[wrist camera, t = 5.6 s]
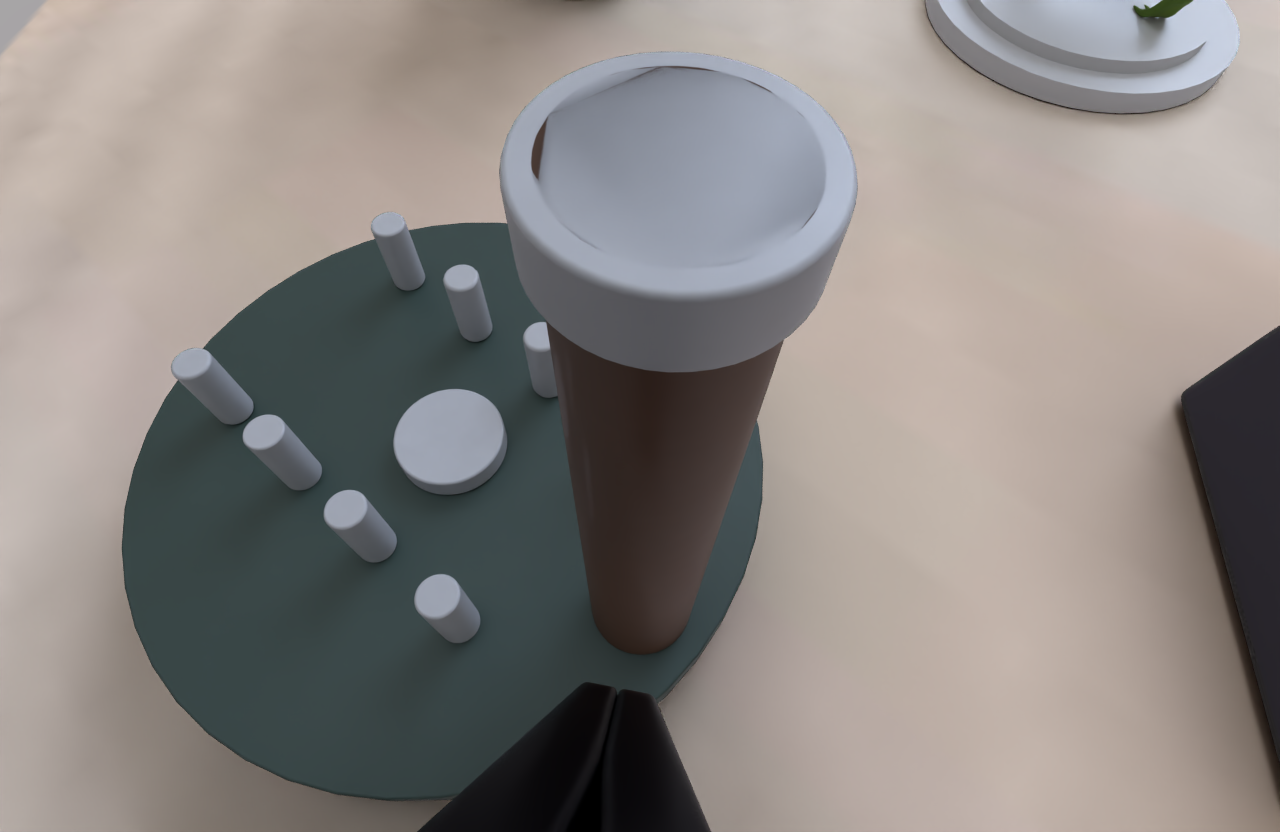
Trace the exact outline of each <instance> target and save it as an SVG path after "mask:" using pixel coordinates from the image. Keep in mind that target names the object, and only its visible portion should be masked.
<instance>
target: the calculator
mask: <svg viewBox="0 0 1280 832" xmlns="http://www.w3.org/2000/svg"><path fill="white" fill-rule="evenodd" d="M1181 401H1182V406H1183V410H1184V413H1185V417H1186V421H1187V424H1188V428H1189V432H1190V435H1191V439H1192V443H1193V446H1194V450H1195V454H1196V458H1197V461H1198V465H1199V469H1200V472H1201V476H1202V480H1203V483H1204V487H1205V491H1206V494H1207V498H1208V502H1209V505H1210V509H1211V513H1212V516H1213V520H1214V524H1215V527H1216V531H1217V535H1218V538H1219V542H1220V546H1221V549H1222V553H1223V557H1224V560H1225V564H1226V568H1227V572H1228V575H1229V579H1230V583H1231V586H1232V590H1233V594H1234V597H1235V601H1236V605H1237V608H1238V612H1239V616H1240V619H1241V623H1242V627H1243V630H1244V634H1245V638H1246V641H1247V645H1248V649H1249V652H1250V656H1251V660H1252V663H1253V667H1254V671H1255V674H1256V678H1257V682H1258V685H1259V689H1260V693H1261V697H1262V700H1263V704H1264V708H1265V711H1266V715H1267V719H1268V722H1269V726H1270V730H1271V733H1272V737H1273V741H1274V744H1275V748H1276V752H1277V755H1278V759H1279V763H1280V326H1278V327H1277V328H1275V329H1274V330H1272V331H1271V332H1269V333H1268V334H1266V335H1265V336H1263V337H1262V338H1260V339H1259V340H1257V341H1256V342H1255V343H1253V344H1252V345H1250V346H1249V347H1247V348H1246V349H1244V350H1243V351H1241V352H1240V353H1238V354H1237V355H1236V356H1234V357H1233V358H1231V359H1230V360H1228V361H1227V362H1225V363H1224V364H1222V365H1221V366H1220V367H1218V368H1217V369H1215V370H1214V371H1212V372H1211V373H1209V374H1208V375H1207V376H1205V377H1204V378H1202V379H1201V380H1199V381H1198V382H1196V383H1195V384H1194V385H1192V386H1191V387H1189V388H1188V389H1186V390H1185V391H1184V392H1183V394H1182V396H1181Z"/></svg>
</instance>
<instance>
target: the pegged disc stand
mask: <svg viewBox="0 0 1280 832" xmlns="http://www.w3.org/2000/svg"><path fill="white" fill-rule="evenodd" d="M499 176H500V188H501V193H502V198H503V203H504V208H505V213H506V219H507V224H506V223H459V224H449V225H438V226H430V227H425V228H419V229H414V230H408V227H407V225H406V222H405V220H404V218H403V217H402V216H401V215H399V214H397V213H394V212H387V213H383V214H380V215H378V216H377V217H376V218H374V220H373V221H372V224H371V230H372V233H373V235H374V237H375V239H374V240H370V241H367V242H364V243H361V244H359V245H356V246H353V247H351V248H348V249H346V250H343V251H341V252H338V253H335V254H333V255H331V256H329V257H327V258H325V259H323V260H321V261H319V262H317V263H315V264H313V265H311V266H309V267H307V268H305V269H303V270H301V271H299V272H297V273H295V274H294V275H292V276H291V277H289V278H287V279H286V280H284V281H283V282H281V283H279V284H278V285H276V286H275V287H273V288H271V289H270V290H268V291H267V292H266V293H264V294H263V295H262V296H260V297H259V298H258V299H256V300H255V301H254V302H253V303H251V304H250V305H249V306H247V307H246V308H245V309H243V310H242V311H241V312H240V313H238V314H237V315H236V316H235V317H234V318H233V319H232V320H231V321H230V322H229V323H228V324H227V325H226V326H224V327H223V328H222V329H221V330H220V331H219V332H218V333H217V334H216V335H215V336H214V337H213V338H212V339H211V340H210V341H209V342H208V343H207V344H206V346H205V347H204V348H203V349H201V348H191V349H187V350H185V351H183V352H181V353H180V354H178V355H177V356H176V357H175V359H174V360H173V362H172V365H171V370H172V374H173V375H174V377H175V378H176V379H178V381H177V382H176V384H175V385H174V387H173V388H172V390H171V391H170V393H169V394H168V395H167V397H166V398H165V400H164V402H163V404H162V406H161V408H160V410H159V411H158V413H157V415H156V417H155V419H154V421H153V423H152V425H151V427H150V429H149V431H148V432H147V435H146V437H145V440H144V443H143V446H142V448H141V451H140V454H139V456H138V459H137V462H136V464H135V467H134V470H133V474H132V478H131V483H130V487H129V492H128V496H127V501H126V505H125V512H124V525H123V539H122V556H123V569H124V581H125V590H126V594H127V598H128V602H129V606H130V610H131V614H132V617H133V621H134V625H135V629H136V631H137V633H138V635H139V638H140V640H141V642H142V644H143V647H144V649H145V651H146V653H147V656H148V658H149V660H150V662H151V665H152V667H153V668H154V670H155V671H156V673H157V674H158V675H159V677H160V678H161V680H162V681H163V683H164V684H165V686H166V687H167V689H168V690H169V692H170V693H171V695H172V696H173V698H174V699H175V700H176V702H177V703H178V704H179V705H180V706H181V707H182V708H183V709H184V710H185V711H186V712H187V713H188V714H189V715H190V716H191V717H192V718H193V719H194V720H195V721H196V722H197V723H198V724H199V725H200V726H201V727H202V728H203V729H204V730H205V731H206V732H207V733H208V734H209V735H210V736H212V737H213V738H215V739H216V740H217V741H219V742H220V743H222V744H223V745H225V746H226V747H227V748H229V749H230V750H232V751H233V752H234V753H236V754H237V755H239V756H240V757H241V758H243V759H244V760H246V761H248V762H250V763H252V764H254V765H256V766H259V767H261V768H263V769H265V770H267V771H269V772H271V773H273V774H275V775H277V776H279V777H282V778H284V779H286V780H288V781H291V782H295V783H298V784H302V785H305V786H309V787H312V788H316V789H319V790H323V791H326V792H329V793H333V794H337V795H346V796H354V797H362V798H370V799H378V800H386V801H422V800H451V799H454V798H455V797H456V796H457V795H458V794H460V793H461V792H462V791H463V790H464V789H465V788H466V787H467V786H468V785H470V784H471V783H472V782H473V781H474V780H475V779H476V778H477V777H478V776H480V775H481V774H482V773H483V772H484V771H485V770H486V769H487V768H488V767H490V766H491V765H492V764H493V763H494V762H495V761H496V760H497V759H498V758H500V757H501V756H502V755H503V754H504V753H505V752H506V751H507V750H508V749H510V748H511V747H512V746H513V745H514V744H515V743H516V742H517V741H518V740H520V739H521V738H522V737H523V736H524V735H525V734H526V733H527V732H528V731H530V730H531V729H532V728H533V727H534V726H535V725H536V724H537V723H538V722H540V721H541V720H542V719H543V718H544V717H545V716H546V715H547V714H548V713H550V712H551V711H552V710H553V709H554V708H555V707H556V706H557V705H558V704H560V703H561V702H562V701H563V700H564V699H565V698H566V697H567V696H568V695H570V694H571V693H572V692H573V691H574V690H575V689H576V688H577V687H578V686H580V685H581V684H582V683H584V682H591V683H596V684H601V685H606V686H612V687H614V688H615V689H616V690H617V695H618V692H619V691H620V690H622V689H627V690H633V691H638V692H643V693H648V694H651V695H652V696H653V697H654V698H655V700H656V702H657V704H658V703H659V702H660V701H661V700H663V699H664V698H665V697H666V696H667V695H668V694H669V692H670V691H671V690H672V689H673V688H674V687H675V686H676V684H677V683H678V682H679V681H680V680H681V679H682V677H683V676H684V675H685V674H686V673H687V672H688V671H689V669H690V668H691V667H692V666H693V665H694V664H695V663H696V661H697V660H698V658H699V657H700V655H701V654H702V652H703V651H704V649H705V647H706V646H707V644H708V643H709V641H710V640H711V638H712V637H713V635H714V634H715V632H716V631H717V629H718V628H719V626H720V624H721V622H722V620H723V619H724V617H725V615H726V612H727V610H728V608H729V606H730V604H731V602H732V600H733V598H734V596H735V594H736V592H737V589H738V587H739V585H740V583H741V581H742V579H743V577H744V574H745V571H746V567H747V564H748V561H749V558H750V555H751V551H752V548H753V545H754V542H755V539H756V534H757V528H758V521H759V515H760V509H761V503H762V482H763V459H762V451H761V443H760V435H759V427H758V423H757V417H758V414H759V411H760V408H761V405H762V403H763V400H764V397H765V394H766V391H767V388H768V385H769V382H770V379H771V376H772V373H773V370H774V367H775V364H776V361H777V358H778V356H779V353H780V350H781V347H782V344H783V341H784V339H785V338H787V337H788V336H790V335H791V334H792V333H793V332H794V331H795V330H796V329H797V328H798V327H799V326H800V325H801V324H802V323H803V322H804V321H805V320H806V319H807V317H808V316H809V315H810V313H811V312H812V311H813V310H814V308H815V306H816V305H817V303H818V301H819V299H820V297H821V295H822V293H823V291H824V288H825V285H826V283H827V280H828V278H829V275H830V272H831V270H832V267H833V265H834V262H835V259H836V257H837V254H838V252H839V249H840V246H841V244H842V241H843V239H844V236H845V233H846V231H847V228H848V226H849V223H850V220H851V217H852V214H853V211H854V208H855V205H856V197H857V189H858V186H857V173H856V166H855V162H854V158H853V154H852V151H851V149H850V146H849V144H848V142H847V140H846V138H845V135H844V134H843V132H842V131H841V129H840V128H839V126H838V125H837V123H836V122H835V121H834V119H833V118H832V117H831V116H830V115H829V114H828V113H827V111H826V110H825V109H824V108H823V107H822V106H821V105H819V104H818V103H817V102H816V101H815V100H814V99H813V98H812V97H810V96H809V95H808V94H806V93H805V92H803V91H802V90H801V89H799V88H798V87H796V86H795V85H793V84H791V83H789V82H788V81H786V80H784V79H782V78H781V77H779V76H777V75H774V74H772V73H770V72H768V71H765V70H763V69H761V68H758V67H755V66H752V65H749V64H746V63H743V62H740V61H736V60H732V59H728V58H724V57H720V56H714V55H707V54H701V53H689V52H650V53H639V54H632V55H626V56H620V57H616V58H612V59H608V60H604V61H600V62H597V63H595V64H592V65H589V66H586V67H583V68H581V69H579V70H577V71H574V72H572V73H570V74H568V75H566V76H564V77H563V78H561V79H559V80H558V81H556V82H554V83H553V84H551V85H549V86H548V87H547V88H546V89H544V90H543V91H542V92H540V93H539V94H538V95H537V96H536V97H535V98H534V99H533V100H532V101H531V102H530V103H529V104H528V105H527V106H526V107H525V108H524V109H523V110H522V112H521V113H520V114H519V116H518V117H517V119H516V120H515V121H514V123H513V125H512V127H511V129H510V131H509V133H508V135H507V138H506V141H505V144H504V148H503V151H502V154H501V160H500V169H499Z"/></svg>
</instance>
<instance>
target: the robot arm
mask: <svg viewBox="0 0 1280 832" xmlns="http://www.w3.org/2000/svg"><path fill="white" fill-rule="evenodd" d="M417 832H711V831H710V828H709V826H708V824H707V821H706V819H705V816H704V814H703V812H702V809H701V807H700V805H699V802H698V800H697V797H696V795H695V793H694V790H693V788H692V786H691V783H690V781H689V778H688V776H687V774H686V771H685V769H684V767H683V764H682V762H681V759H680V757H679V755H678V752H677V750H676V748H675V745H674V743H673V740H672V738H671V736H670V733H669V731H668V728H667V726H666V724H665V721H664V719H663V717H662V714H661V712H660V709H659V707H658V705H657V702H656V700H655V698H654V697H653V696H652V695H651V694H648V693H643V692H638V691H633V690H627V689H622V690H620V691H619V692H618V695H617V690H616V689H615V688H614V687H612V686H606V685H601V684H596V683H591V682H584V683H582V684H581V685H580V686H578V687H577V688H576V689H575V690H574V691H573V692H572V693H571V694H570V695H568V696H567V697H566V698H565V699H564V700H563V701H562V702H561V703H560V704H558V705H557V706H556V707H555V708H554V709H553V710H552V711H551V712H550V713H548V714H547V715H546V716H545V717H544V718H543V719H542V720H541V721H540V722H538V723H537V724H536V725H535V726H534V727H533V728H532V729H531V730H530V731H528V732H527V733H526V734H525V735H524V736H523V737H522V738H521V739H520V740H518V741H517V742H516V743H515V744H514V745H513V746H512V747H511V748H510V749H508V750H507V751H506V752H505V753H504V754H503V755H502V756H501V757H500V758H498V759H497V760H496V761H495V762H494V763H493V764H492V765H491V766H490V767H488V768H487V769H486V770H485V771H484V772H483V773H482V774H481V775H480V776H478V777H477V778H476V779H475V780H474V781H473V782H472V783H471V784H470V785H468V786H467V787H466V788H465V789H464V790H463V791H462V792H461V793H460V794H458V795H457V796H456V797H455V798H454V799H453V800H452V801H451V802H450V803H448V804H447V805H446V806H445V807H444V808H443V809H442V810H441V811H440V812H438V813H437V814H436V815H435V816H434V817H433V818H432V819H431V820H430V821H428V822H427V823H426V824H425V825H424V826H423V827H422V828H421V829H420V830H418V831H417Z"/></svg>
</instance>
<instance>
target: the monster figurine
mask: <svg viewBox="0 0 1280 832" xmlns="http://www.w3.org/2000/svg"><path fill="white" fill-rule="evenodd" d="M926 8H927V13H928V17H929V19H930V21H931V23H932V25H933V27H934V30H935V31H936V32H937V34H938V35H939V36H940V38H941V39H942V40H943V42H944V43H945V44H946V45H947V46H948V47H949V48H950V49H951V50H952V51H953V52H954V53H955V54H956V55H957V56H958V57H959V58H961V59H962V60H963V61H965V62H966V63H967V64H969V65H970V66H971V67H973V68H974V69H975V70H977V71H979V72H980V73H982V74H984V75H985V76H987V77H989V78H991V79H992V80H994V81H996V82H998V83H1000V84H1002V85H1004V86H1007V87H1009V88H1011V89H1013V90H1015V91H1017V92H1020V93H1023V94H1026V95H1028V96H1031V97H1034V98H1037V99H1040V100H1043V101H1046V102H1050V103H1054V104H1058V105H1062V106H1066V107H1070V108H1076V109H1082V110H1088V111H1094V112H1108V113H1144V112H1151V111H1157V110H1164V109H1168V108H1171V107H1175V106H1178V105H1181V104H1185V103H1187V102H1189V101H1191V100H1193V99H1195V98H1197V97H1199V96H1201V95H1202V94H1203V93H1204V92H1206V91H1207V90H1208V89H1209V88H1210V87H1212V86H1213V84H1214V83H1215V82H1216V81H1217V80H1218V78H1219V77H1220V76H1221V75H1222V73H1223V72H1224V71H1225V70H1226V68H1227V67H1228V66H1229V65H1230V63H1231V62H1232V60H1233V59H1234V57H1235V56H1236V54H1237V51H1238V47H1239V44H1240V35H1239V27H1238V24H1237V21H1236V18H1235V16H1234V14H1233V13H1232V11H1231V9H1230V8H1229V6H1228V4H1227V3H1226V2H1225V0H926Z"/></svg>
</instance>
